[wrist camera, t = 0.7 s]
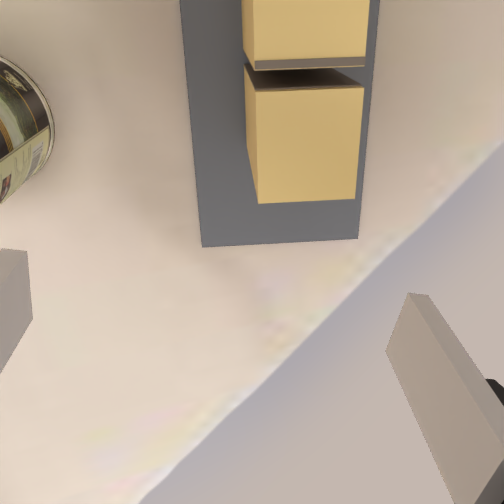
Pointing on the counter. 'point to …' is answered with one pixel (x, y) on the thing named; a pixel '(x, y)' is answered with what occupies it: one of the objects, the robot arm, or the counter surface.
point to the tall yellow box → (304, 33)
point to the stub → (302, 133)
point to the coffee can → (21, 129)
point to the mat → (234, 138)
